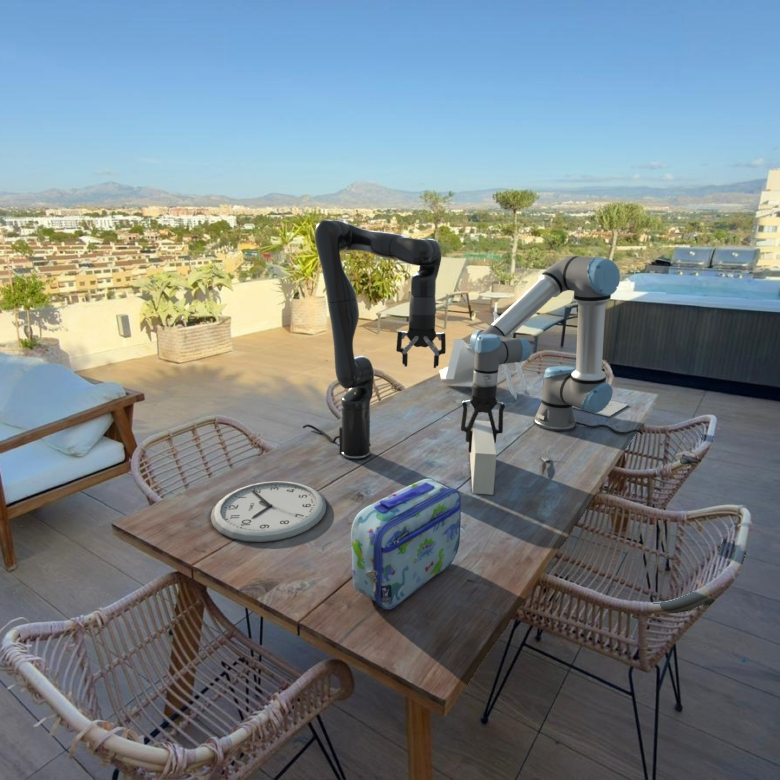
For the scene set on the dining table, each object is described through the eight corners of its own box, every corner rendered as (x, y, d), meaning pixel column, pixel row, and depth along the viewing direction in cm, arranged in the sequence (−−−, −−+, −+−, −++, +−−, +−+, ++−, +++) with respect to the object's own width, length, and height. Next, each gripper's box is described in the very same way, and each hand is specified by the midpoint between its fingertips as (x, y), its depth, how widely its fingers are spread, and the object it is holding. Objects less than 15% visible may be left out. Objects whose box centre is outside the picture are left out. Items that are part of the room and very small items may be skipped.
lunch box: (380, 623, 100) (381, 528, 94) (344, 596, 108) (343, 505, 101) (464, 565, 118) (470, 482, 112) (428, 545, 125) (432, 466, 119)
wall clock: (324, 533, 126) (196, 538, 124) (324, 539, 127) (197, 544, 124) (327, 477, 155) (224, 479, 152) (327, 482, 155) (224, 484, 153)
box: (470, 455, 176) (472, 420, 172) (487, 456, 175) (490, 421, 171) (472, 493, 151) (475, 453, 147) (493, 494, 150) (496, 454, 146)
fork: (538, 474, 162) (538, 468, 162) (542, 454, 177) (542, 449, 176) (546, 475, 162) (547, 470, 161) (550, 455, 176) (550, 450, 175)
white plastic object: (461, 429, 252) (437, 405, 227) (444, 352, 274) (420, 323, 250) (535, 404, 240) (518, 377, 215) (510, 326, 262) (492, 293, 237)
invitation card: (608, 416, 214) (573, 407, 224) (608, 416, 214) (573, 408, 224) (628, 404, 229) (594, 396, 238) (628, 405, 229) (594, 397, 238)
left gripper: (396, 312, 146) (395, 368, 151) (447, 314, 145) (444, 371, 149) (398, 308, 153) (397, 362, 158) (447, 310, 152) (444, 364, 157)
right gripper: (454, 385, 162) (450, 454, 169) (516, 388, 160) (510, 458, 167) (454, 379, 169) (451, 445, 176) (514, 382, 167) (508, 448, 174)
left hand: (420, 366), depth 154 cm, fingers open, 8 cm apart
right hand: (479, 451), depth 172 cm, fingers closed on box, 6 cm apart
